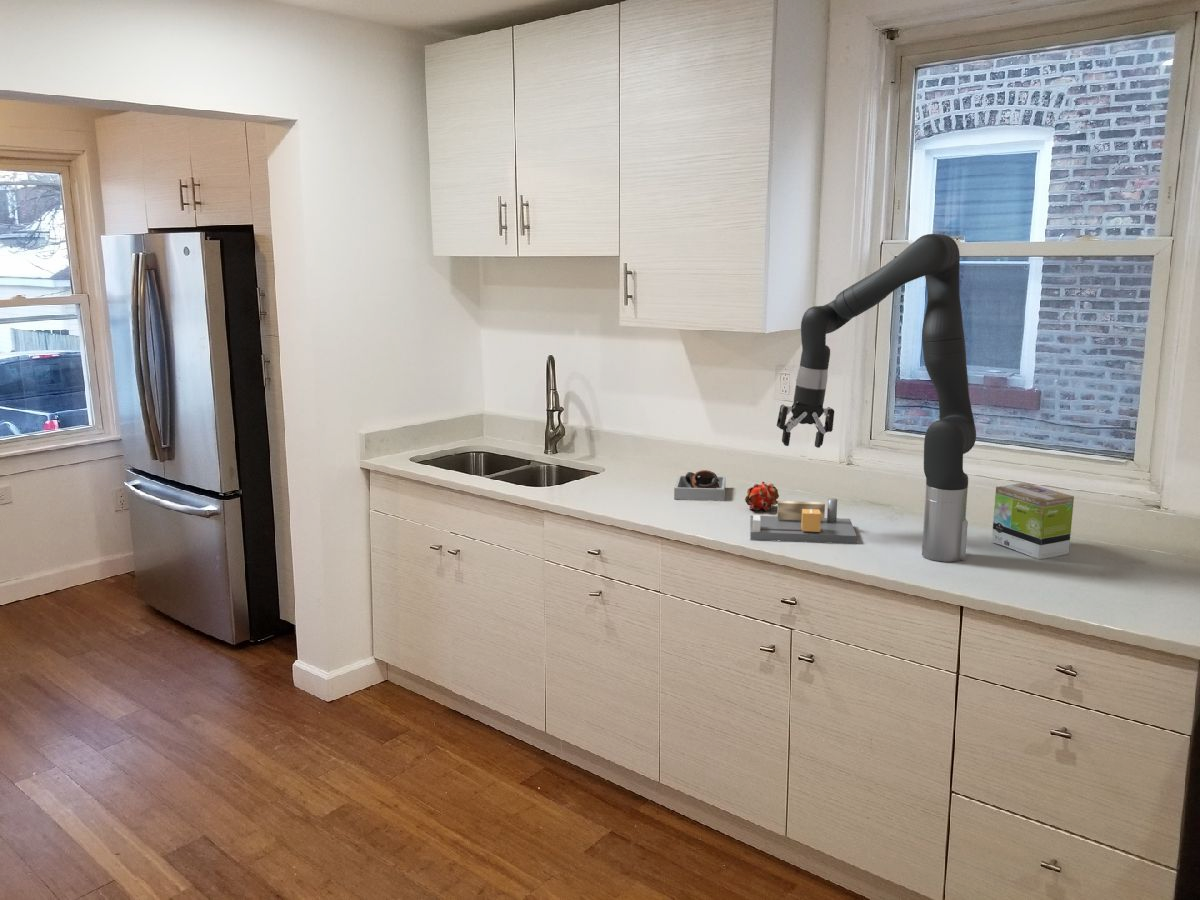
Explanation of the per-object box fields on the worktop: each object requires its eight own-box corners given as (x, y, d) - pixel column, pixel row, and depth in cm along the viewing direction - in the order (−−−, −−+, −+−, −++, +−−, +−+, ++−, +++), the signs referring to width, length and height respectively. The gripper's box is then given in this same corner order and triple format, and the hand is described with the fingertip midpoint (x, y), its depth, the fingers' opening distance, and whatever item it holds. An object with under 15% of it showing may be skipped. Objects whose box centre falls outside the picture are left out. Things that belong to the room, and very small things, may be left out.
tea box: (989, 543, 235) (994, 485, 232) (1020, 538, 239) (1024, 481, 236) (1039, 560, 221) (1044, 499, 218) (1070, 555, 225) (1076, 494, 222)
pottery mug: (725, 493, 289) (725, 473, 284) (709, 512, 284) (708, 492, 278) (692, 479, 295) (692, 459, 289) (675, 497, 290) (674, 477, 284)
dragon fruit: (779, 511, 271) (749, 524, 265) (761, 490, 276) (731, 502, 269) (791, 492, 265) (760, 505, 259) (772, 471, 270) (741, 483, 263)
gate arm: (823, 518, 249) (824, 502, 248) (824, 520, 247) (824, 504, 246) (777, 516, 251) (777, 500, 250) (777, 519, 249) (778, 503, 248)
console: (849, 526, 251) (850, 496, 249) (856, 543, 235) (857, 512, 234) (750, 522, 255) (751, 493, 253) (750, 539, 239) (751, 509, 238)
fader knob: (818, 526, 241) (819, 509, 240) (820, 531, 237) (820, 513, 236) (801, 526, 242) (801, 508, 241) (802, 531, 237) (802, 513, 237)
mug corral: (725, 487, 294) (725, 476, 293) (723, 500, 278) (724, 489, 277) (678, 486, 296) (678, 475, 295) (674, 499, 280) (674, 488, 279)
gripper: (789, 386, 235) (780, 448, 239) (843, 389, 237) (833, 451, 242) (779, 380, 242) (770, 441, 246) (831, 383, 245) (822, 443, 249)
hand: (801, 446), depth 244 cm, fingers open, 8 cm apart
